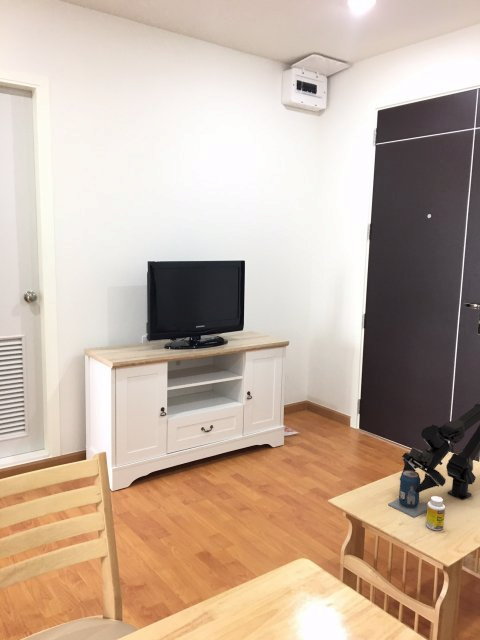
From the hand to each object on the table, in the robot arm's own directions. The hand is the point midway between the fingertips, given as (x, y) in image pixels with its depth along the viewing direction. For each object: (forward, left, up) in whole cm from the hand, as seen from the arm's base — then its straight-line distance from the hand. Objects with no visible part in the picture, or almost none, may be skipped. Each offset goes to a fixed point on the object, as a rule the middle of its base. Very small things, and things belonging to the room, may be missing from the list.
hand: (408, 486), depth 192 cm
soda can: (-1, 0, -8) cm, 8 cm away
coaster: (-1, 0, -8) cm, 8 cm away
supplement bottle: (+4, +13, -8) cm, 16 cm away
